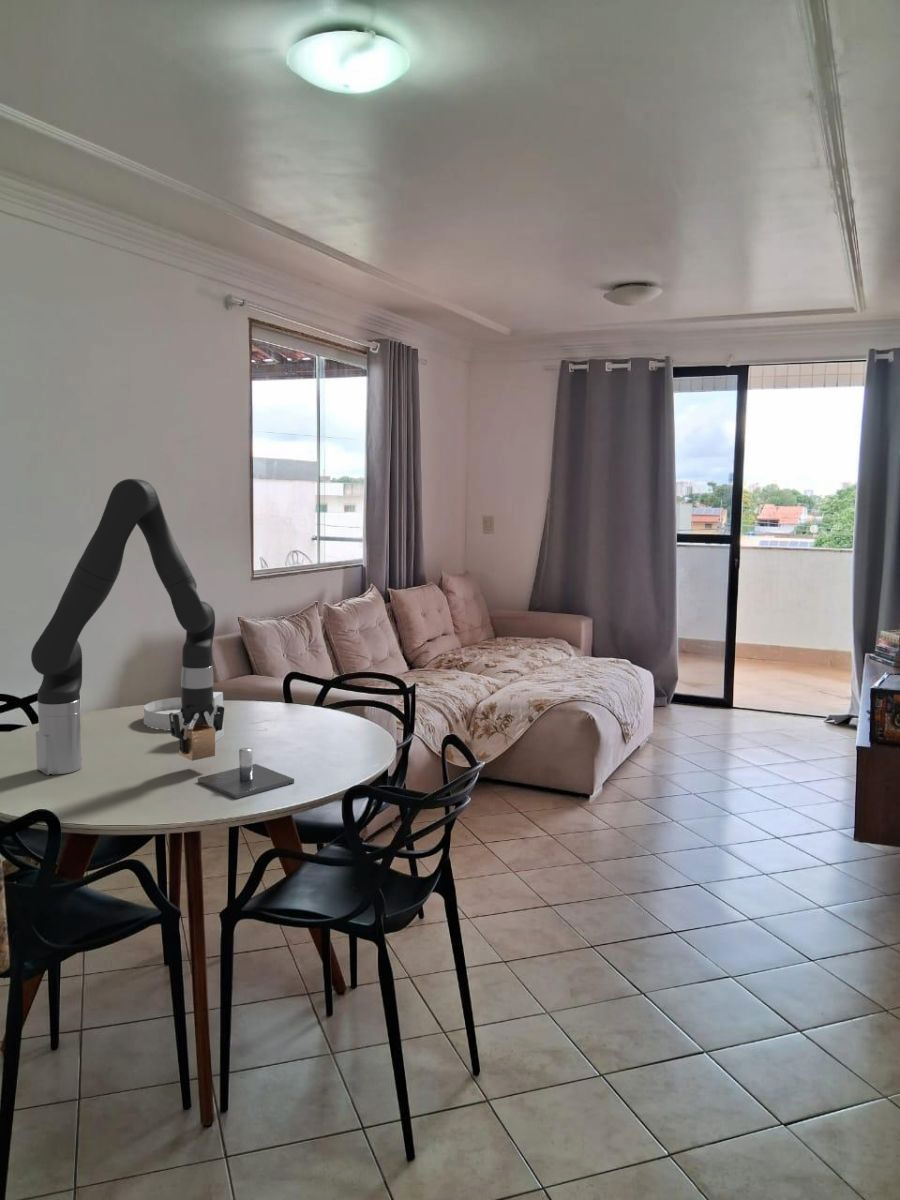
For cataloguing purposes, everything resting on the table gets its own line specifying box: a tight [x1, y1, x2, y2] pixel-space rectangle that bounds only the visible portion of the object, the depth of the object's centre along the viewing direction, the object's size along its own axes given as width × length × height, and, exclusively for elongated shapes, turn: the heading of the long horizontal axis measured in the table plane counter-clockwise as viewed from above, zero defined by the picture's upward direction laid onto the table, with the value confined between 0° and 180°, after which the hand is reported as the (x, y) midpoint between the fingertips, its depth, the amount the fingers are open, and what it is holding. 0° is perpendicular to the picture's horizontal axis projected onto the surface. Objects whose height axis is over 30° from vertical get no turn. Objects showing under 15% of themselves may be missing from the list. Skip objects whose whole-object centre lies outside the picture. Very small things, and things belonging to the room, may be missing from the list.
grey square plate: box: [197, 747, 295, 800], centre depth 204 cm, size 16×16×8 cm
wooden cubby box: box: [178, 725, 216, 761], centre depth 212 cm, size 6×6×7 cm
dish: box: [143, 696, 189, 731], centre depth 259 cm, size 22×22×5 cm
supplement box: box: [210, 691, 225, 743], centre depth 240 cm, size 7×7×13 cm
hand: (197, 750), depth 212 cm, fingers closed on wooden cubby box, 6 cm apart
